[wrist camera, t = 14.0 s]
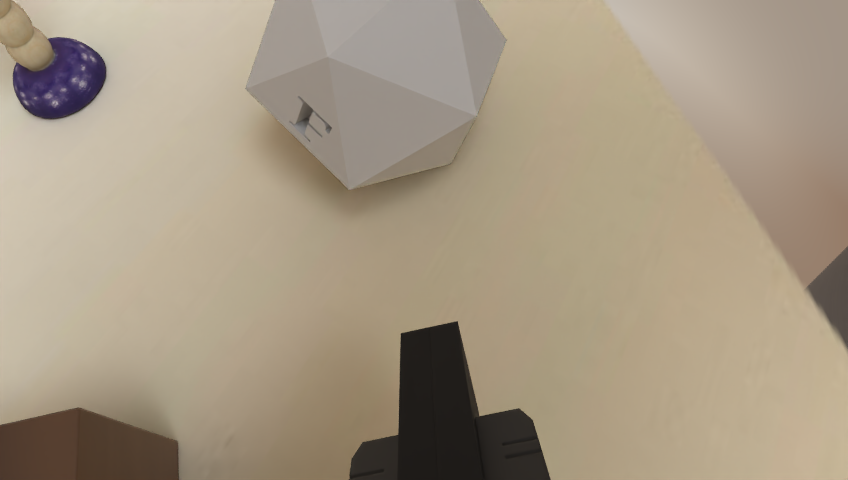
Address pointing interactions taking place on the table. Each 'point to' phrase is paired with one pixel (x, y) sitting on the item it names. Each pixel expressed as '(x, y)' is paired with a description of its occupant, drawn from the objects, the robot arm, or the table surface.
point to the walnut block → (84, 449)
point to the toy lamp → (49, 66)
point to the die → (376, 80)
